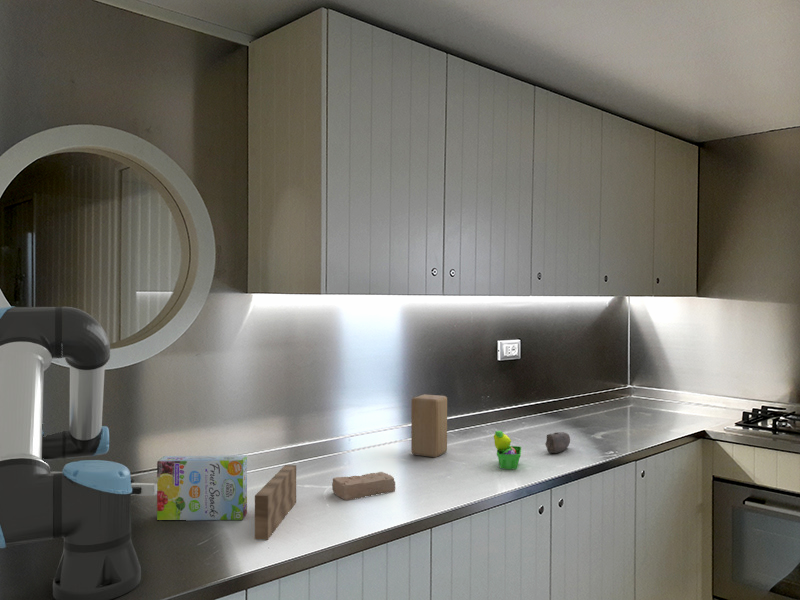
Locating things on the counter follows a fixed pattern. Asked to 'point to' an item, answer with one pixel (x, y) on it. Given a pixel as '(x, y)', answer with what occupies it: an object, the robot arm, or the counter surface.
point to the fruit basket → (506, 451)
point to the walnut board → (275, 502)
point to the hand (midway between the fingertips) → (155, 489)
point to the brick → (363, 485)
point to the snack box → (202, 487)
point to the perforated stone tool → (557, 442)
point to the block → (429, 425)
